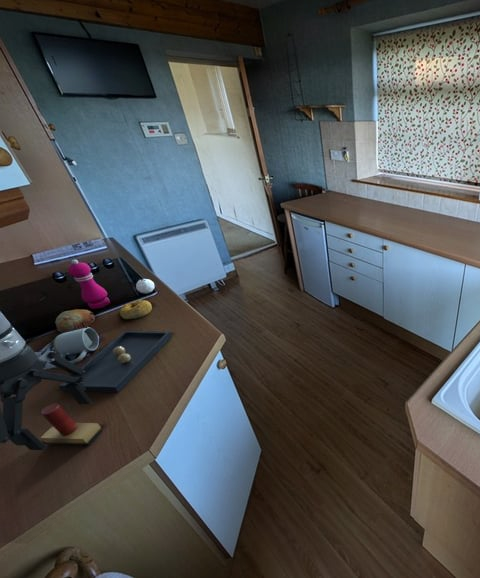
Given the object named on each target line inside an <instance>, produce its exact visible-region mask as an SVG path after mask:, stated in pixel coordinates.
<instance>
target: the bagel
mask: <svg viewBox="0 0 480 578" xmlns="http://www.w3.org/2000/svg"><path fill="white" fill-rule="evenodd" d="M152 309H153V306H152V304H151V302H149V301H148V300H145V299H143V300H141V299H139V300H135V301H131V302H128V303H125V304H123V306H122V308H120V309H119V315H120V317H121V318H122V319H124V320H132V319H133V320H134V319H140V318H143V317H145V316H147V315H148V314H150V313H151V312H152Z"/></svg>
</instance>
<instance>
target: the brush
mask: <svg viewBox="0 0 480 578" xmlns="http://www.w3.org/2000/svg"><path fill="white" fill-rule="evenodd" d="M40 415H42V417H44V419H45V420H46V421H47V422H48V423H49V424H50V425H51V427H50V428H49V429H48V430H47V431H45V432H44V433H43V434H42V435H41V436H40V437H39V439H40V440H41V441H42V442H44V443H47V444H48V445H56V446H57V445H60V446H91V444H92V443H93V442H94V441H95V440H96V439H97V438H98V436H100V434H101V433H102V432H103V431H102V430H101V429H102V427H101V426H100V424H99V423H97V422H75V421H74V420H73V419H72V418H71V417H70V416H69V415H68V414H67V412H65V410H64V409H63V408H62V406H60V405H59V404H58V403H52V404H49V405H47V406H45V407H44V408H42V410H41V411H40Z"/></svg>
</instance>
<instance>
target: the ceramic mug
mask: <svg viewBox="0 0 480 578" xmlns="http://www.w3.org/2000/svg"><path fill="white" fill-rule="evenodd" d="M99 345H100V339H99V335H98V333H97V332H96V330H95V329H94V328H92V327H90V326H88V327H87V328H83V329H79V330H75V331H71V332H66V333H60V334H58V335H57V336H55V337H54V339H53V345H52V346H53V348H54V351H57V352H58V354H59V355H60V356H61V358H63V359H65V360H66V356H72V355H77V354H79V356H78V357H77V358H75V359H73V360H68V361H69V362H71V363H73V364H74V365H76V364H77V363H79V362H81V361H83V360H84V358H85V357H86V355H87V353H89V352H93V351H96V350H97V349H98V347H99ZM67 353H69V354H67Z"/></svg>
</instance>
